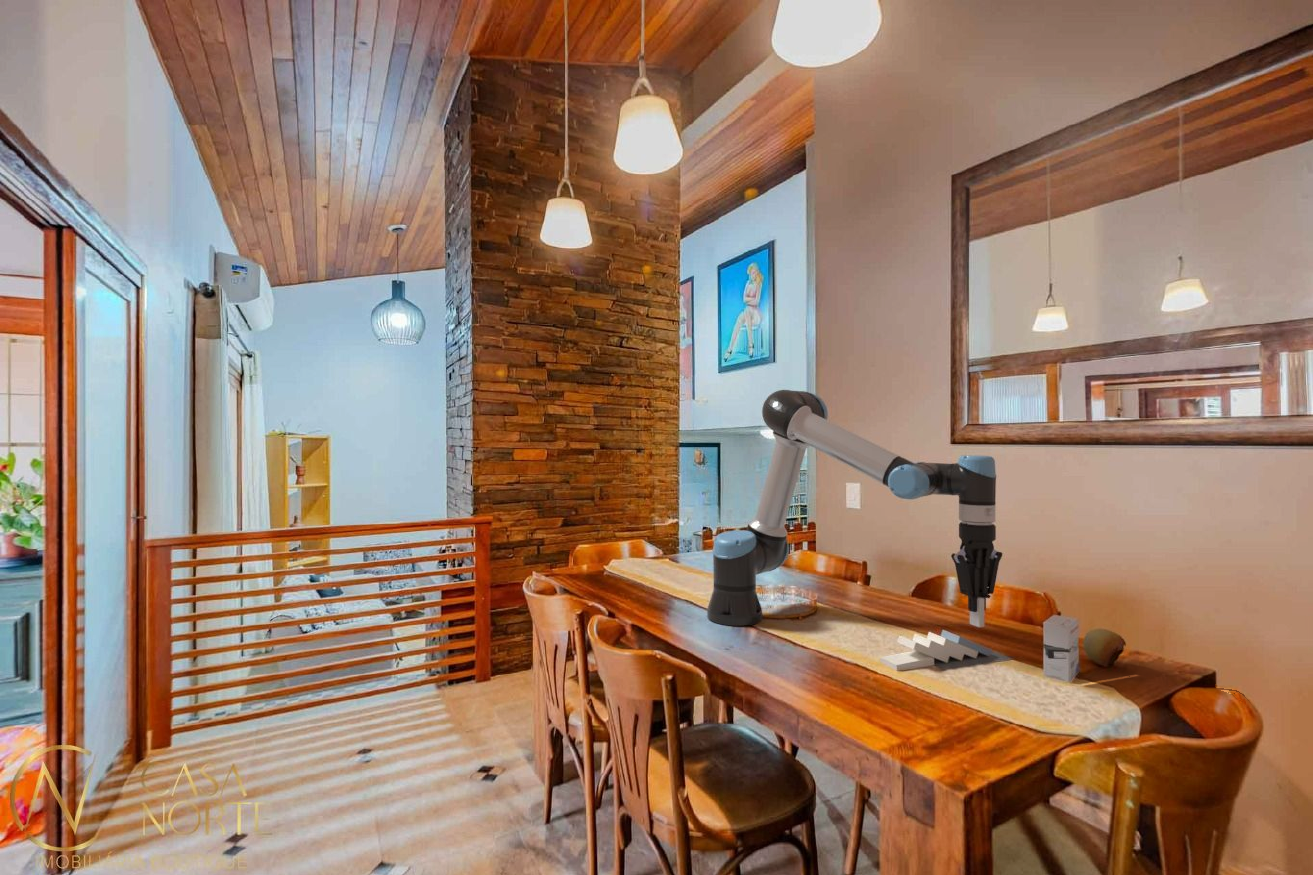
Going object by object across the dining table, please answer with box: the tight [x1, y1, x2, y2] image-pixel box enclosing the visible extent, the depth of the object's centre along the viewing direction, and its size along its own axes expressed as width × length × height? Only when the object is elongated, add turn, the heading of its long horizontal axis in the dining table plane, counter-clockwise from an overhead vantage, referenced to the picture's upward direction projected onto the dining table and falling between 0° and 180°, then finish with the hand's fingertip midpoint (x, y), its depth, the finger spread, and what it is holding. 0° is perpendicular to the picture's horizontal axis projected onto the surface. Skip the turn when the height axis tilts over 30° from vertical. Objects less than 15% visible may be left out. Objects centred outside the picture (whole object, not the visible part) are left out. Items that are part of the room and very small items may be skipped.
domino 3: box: [912, 633, 964, 661], centre depth 137 cm, size 2×5×10 cm
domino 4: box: [926, 631, 978, 658], centre depth 138 cm, size 2×5×10 cm
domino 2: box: [897, 635, 949, 663], centre depth 135 cm, size 2×5×10 cm
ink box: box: [1042, 614, 1080, 683], centre depth 128 cm, size 8×5×12 cm, turn 134°
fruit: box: [1082, 628, 1127, 668], centre depth 134 cm, size 8×8×8 cm
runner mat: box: [932, 650, 1015, 671], centre depth 139 cm, size 11×20×1 cm, turn 109°
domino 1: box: [880, 650, 934, 672], centre depth 134 cm, size 2×5×10 cm
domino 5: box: [940, 629, 993, 656], centre depth 139 cm, size 2×5×10 cm
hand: (977, 625), depth 140 cm, fingers closed
